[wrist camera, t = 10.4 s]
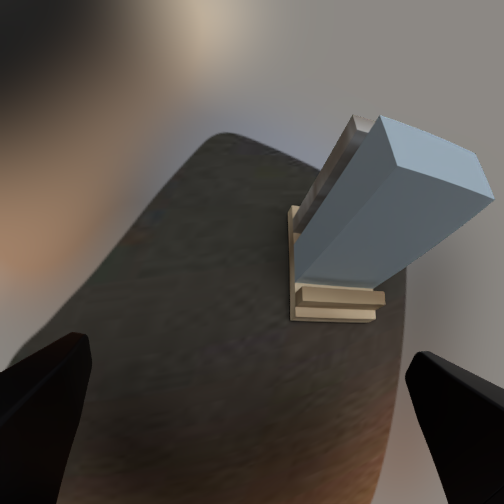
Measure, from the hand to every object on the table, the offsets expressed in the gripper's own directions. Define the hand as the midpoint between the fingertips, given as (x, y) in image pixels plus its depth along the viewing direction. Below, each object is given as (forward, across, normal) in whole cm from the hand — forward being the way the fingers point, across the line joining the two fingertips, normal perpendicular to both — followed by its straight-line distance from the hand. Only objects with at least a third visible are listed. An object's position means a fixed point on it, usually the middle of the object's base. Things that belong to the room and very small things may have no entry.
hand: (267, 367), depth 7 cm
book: (+15, -8, +3) cm, 17 cm away
